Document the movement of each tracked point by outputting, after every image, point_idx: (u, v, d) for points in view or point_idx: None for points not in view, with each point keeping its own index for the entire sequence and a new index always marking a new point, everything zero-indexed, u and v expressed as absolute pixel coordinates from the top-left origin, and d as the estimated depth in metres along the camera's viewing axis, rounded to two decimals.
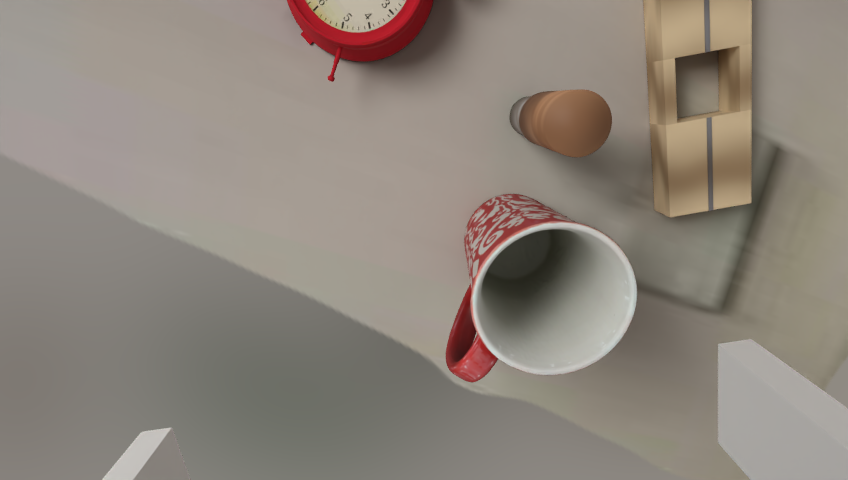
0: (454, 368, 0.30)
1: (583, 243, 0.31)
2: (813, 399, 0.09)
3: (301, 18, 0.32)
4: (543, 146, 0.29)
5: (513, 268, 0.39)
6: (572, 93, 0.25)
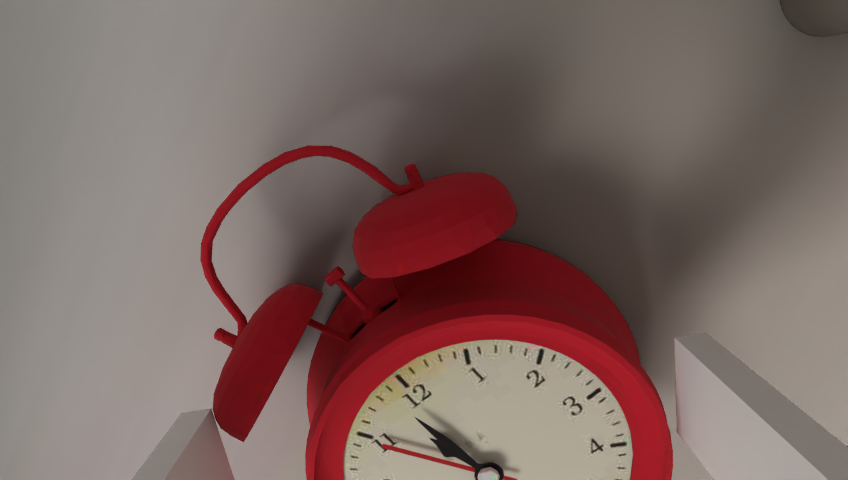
0: None
1: None
2: (754, 388, 0.10)
3: None
4: None
5: None
6: None
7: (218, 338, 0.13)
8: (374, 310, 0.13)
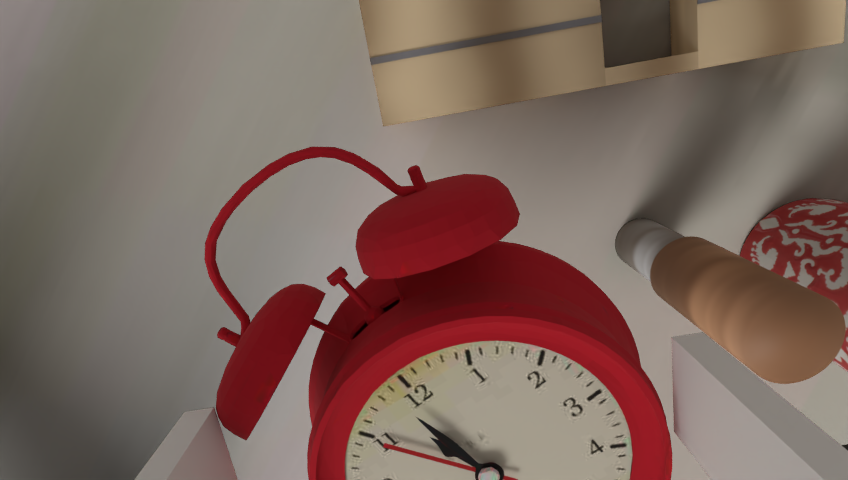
0: None
1: None
2: (750, 387, 0.10)
3: None
4: None
5: None
6: (748, 351, 0.17)
7: (221, 337, 0.13)
8: (376, 310, 0.13)
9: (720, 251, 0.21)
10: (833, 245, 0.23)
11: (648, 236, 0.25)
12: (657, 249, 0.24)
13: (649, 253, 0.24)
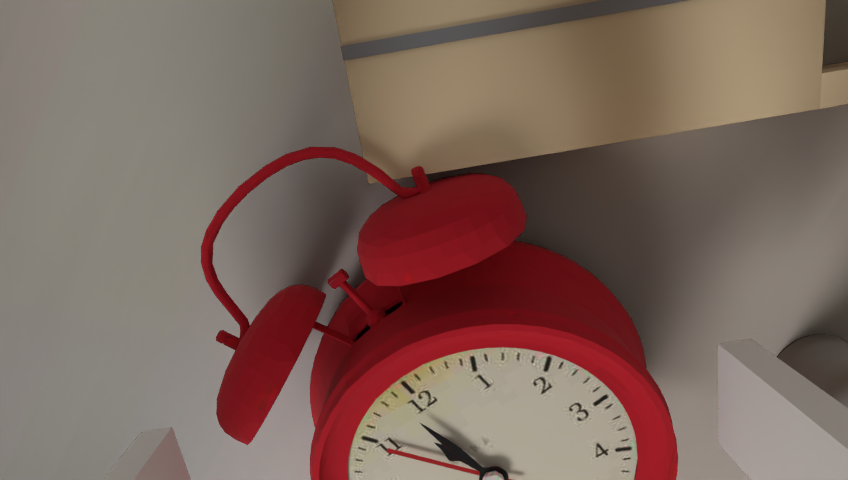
0: None
1: None
2: (813, 399, 0.09)
3: None
4: None
5: None
6: None
7: (220, 341, 0.13)
8: (379, 313, 0.13)
9: None
10: None
11: None
12: None
13: None
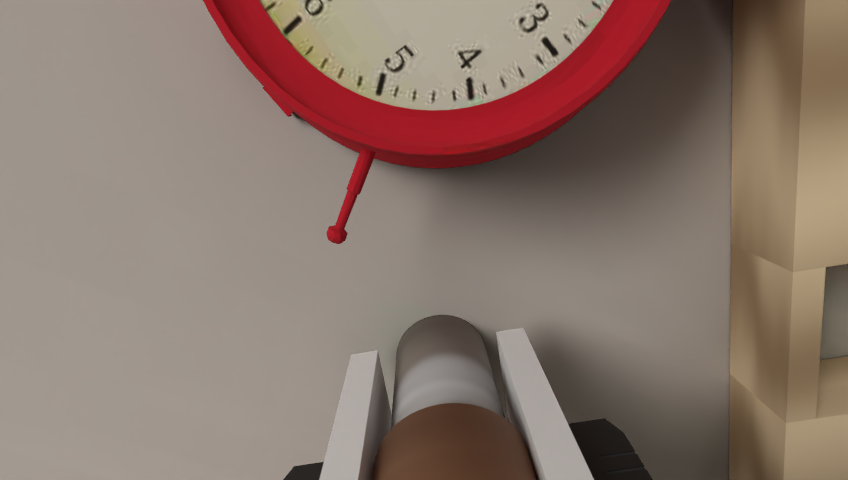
0: None
1: None
2: (529, 374, 0.11)
3: (241, 58, 0.09)
4: None
5: None
6: None
7: None
8: None
9: None
10: None
11: (489, 377, 0.13)
12: (489, 406, 0.11)
13: (472, 388, 0.11)
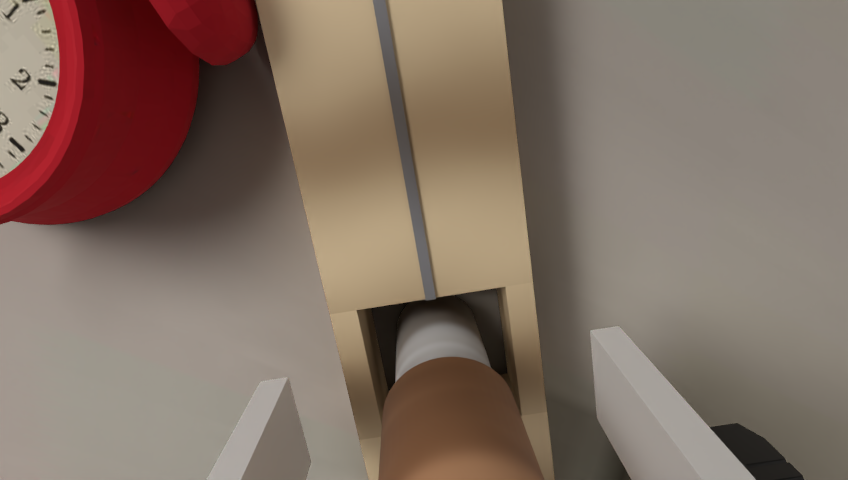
0: None
1: None
2: (644, 375, 0.11)
3: None
4: None
5: None
6: None
7: None
8: None
9: None
10: None
11: (479, 342, 0.15)
12: None
13: (465, 348, 0.13)
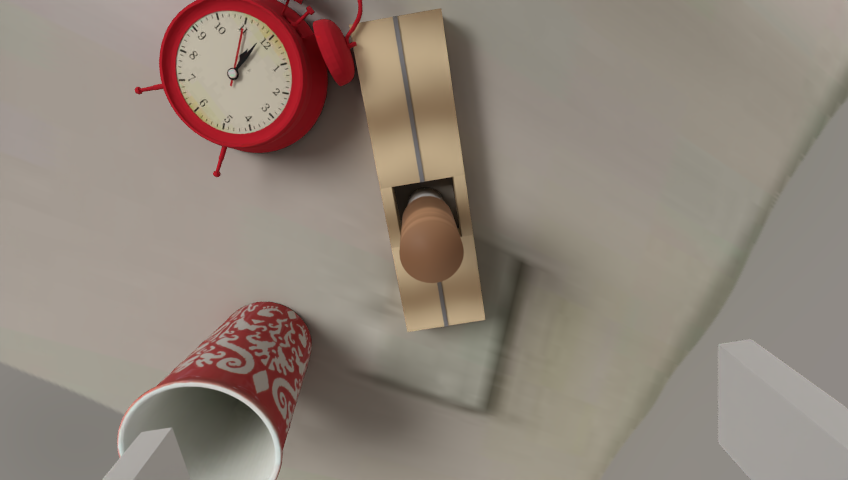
0: None
1: None
2: (813, 399, 0.09)
3: None
4: None
5: None
6: (423, 225, 0.26)
7: None
8: (296, 27, 0.32)
9: None
10: (277, 339, 0.34)
11: None
12: None
13: None
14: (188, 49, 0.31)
